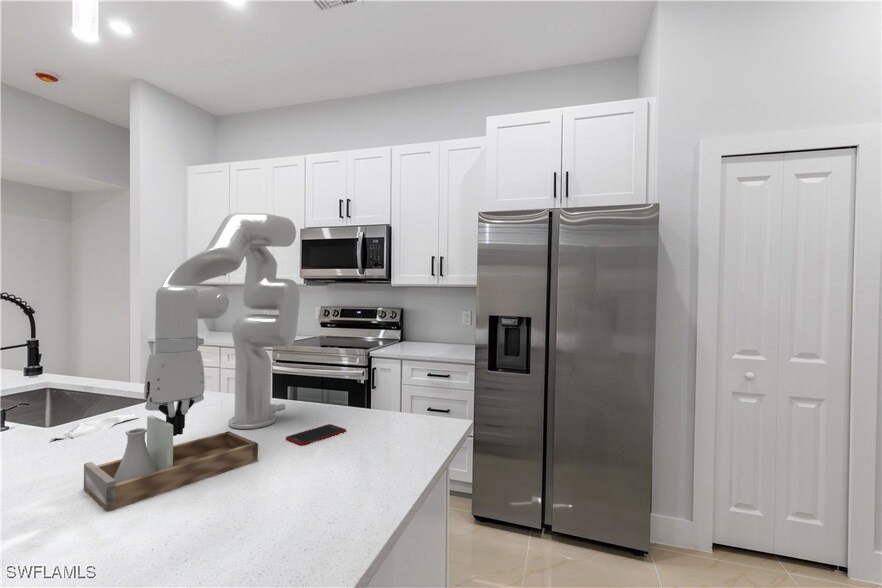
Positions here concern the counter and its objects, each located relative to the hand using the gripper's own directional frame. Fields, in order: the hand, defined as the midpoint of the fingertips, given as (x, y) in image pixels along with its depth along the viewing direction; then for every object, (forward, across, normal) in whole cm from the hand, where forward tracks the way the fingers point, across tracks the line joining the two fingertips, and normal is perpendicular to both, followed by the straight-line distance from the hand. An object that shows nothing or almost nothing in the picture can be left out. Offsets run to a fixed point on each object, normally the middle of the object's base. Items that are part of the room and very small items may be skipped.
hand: (175, 433), depth 88 cm
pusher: (+7, +3, 0) cm, 8 cm away
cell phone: (+9, -34, +3) cm, 35 cm away
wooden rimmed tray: (+9, -1, 0) cm, 9 cm away
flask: (+8, +7, 0) cm, 10 cm away
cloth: (+10, -1, -49) cm, 50 cm away
